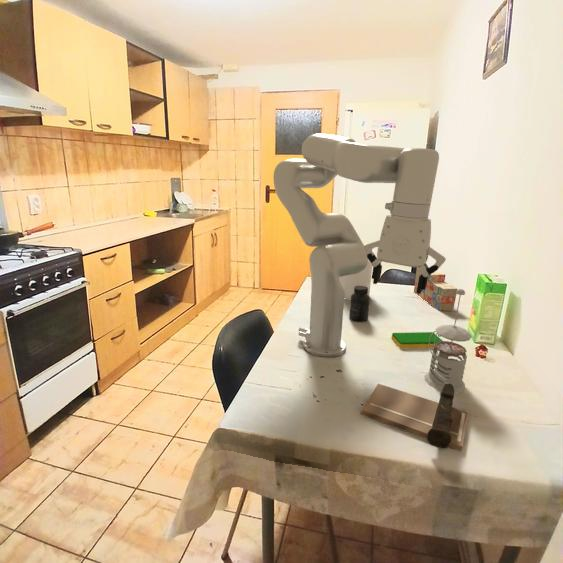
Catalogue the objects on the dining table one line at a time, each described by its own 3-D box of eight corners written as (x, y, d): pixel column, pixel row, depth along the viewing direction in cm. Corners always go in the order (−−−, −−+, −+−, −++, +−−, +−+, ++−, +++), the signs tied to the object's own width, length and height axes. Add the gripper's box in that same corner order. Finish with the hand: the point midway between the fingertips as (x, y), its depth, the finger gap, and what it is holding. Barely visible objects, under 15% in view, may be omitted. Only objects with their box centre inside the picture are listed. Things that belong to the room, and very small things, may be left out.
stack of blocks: (453, 311, 139) (459, 281, 135) (438, 311, 138) (443, 281, 134) (426, 293, 159) (430, 266, 155) (412, 293, 158) (416, 266, 154)
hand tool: (448, 453, 66) (452, 432, 64) (425, 444, 68) (429, 424, 66) (460, 401, 81) (463, 384, 80) (441, 395, 83) (444, 378, 82)
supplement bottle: (371, 321, 127) (375, 289, 123) (355, 323, 125) (358, 291, 121) (361, 314, 133) (363, 283, 129) (345, 316, 131) (347, 285, 127)
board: (361, 414, 78) (361, 409, 77) (377, 387, 88) (378, 383, 87) (461, 451, 68) (462, 446, 67) (467, 416, 78) (468, 411, 77)
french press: (441, 395, 85) (459, 297, 78) (411, 370, 96) (425, 282, 88) (474, 389, 88) (495, 294, 80) (442, 365, 98) (457, 279, 91)
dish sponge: (390, 339, 114) (391, 332, 114) (431, 338, 116) (433, 331, 115) (399, 349, 108) (400, 342, 107) (443, 349, 109) (444, 341, 108)
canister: (339, 299, 148) (343, 252, 142) (336, 289, 160) (339, 246, 155) (372, 300, 147) (377, 253, 141) (365, 290, 160) (370, 247, 154)
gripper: (364, 208, 75) (355, 283, 81) (452, 218, 67) (434, 301, 73) (375, 204, 82) (365, 275, 87) (456, 214, 73) (440, 291, 79)
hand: (397, 287), depth 80 cm, fingers open, 9 cm apart
